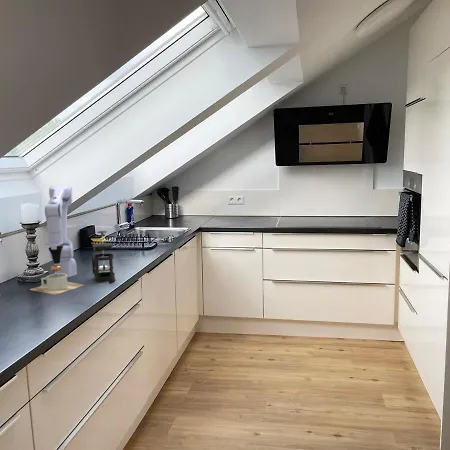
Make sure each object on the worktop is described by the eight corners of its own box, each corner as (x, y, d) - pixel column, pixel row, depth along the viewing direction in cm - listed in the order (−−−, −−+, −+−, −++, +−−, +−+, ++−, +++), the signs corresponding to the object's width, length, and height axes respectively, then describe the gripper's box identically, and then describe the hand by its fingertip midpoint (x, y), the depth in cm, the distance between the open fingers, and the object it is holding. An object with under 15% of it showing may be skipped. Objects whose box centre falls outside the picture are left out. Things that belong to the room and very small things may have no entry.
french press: (121, 280, 214) (118, 230, 210) (106, 285, 205) (103, 233, 202) (101, 277, 219) (99, 228, 216) (86, 282, 211) (83, 231, 208)
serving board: (60, 282, 211) (60, 280, 211) (85, 287, 203) (85, 285, 203) (29, 291, 198) (29, 289, 198) (54, 297, 190) (54, 294, 189)
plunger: (63, 276, 203) (63, 264, 202) (63, 279, 198) (63, 267, 197) (50, 278, 201) (49, 265, 201) (49, 281, 196) (48, 268, 195)
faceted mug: (68, 283, 206) (67, 272, 205) (68, 288, 198) (67, 277, 197) (42, 286, 202) (41, 274, 202) (41, 291, 194) (40, 279, 193)
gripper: (47, 230, 207) (49, 260, 209) (42, 234, 193) (44, 267, 195) (63, 229, 209) (65, 259, 211) (60, 234, 195) (62, 266, 197)
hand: (56, 263), depth 203 cm, fingers closed
